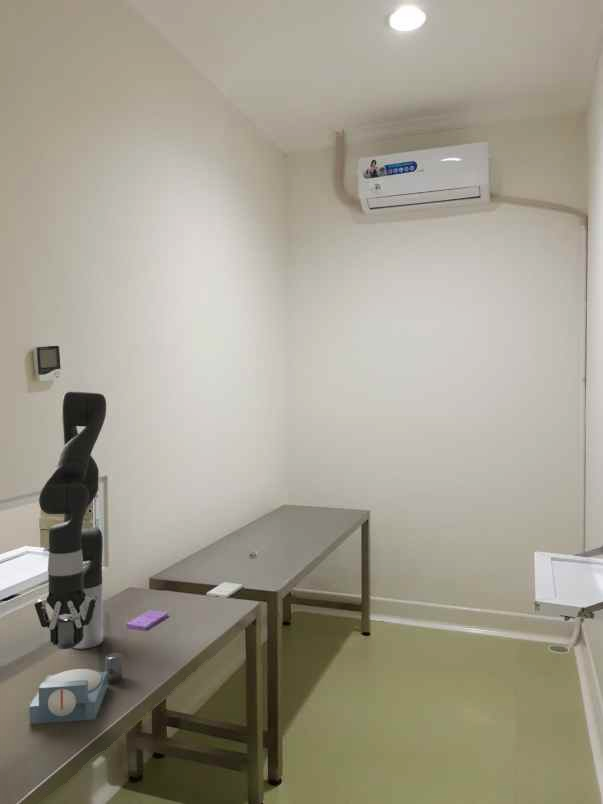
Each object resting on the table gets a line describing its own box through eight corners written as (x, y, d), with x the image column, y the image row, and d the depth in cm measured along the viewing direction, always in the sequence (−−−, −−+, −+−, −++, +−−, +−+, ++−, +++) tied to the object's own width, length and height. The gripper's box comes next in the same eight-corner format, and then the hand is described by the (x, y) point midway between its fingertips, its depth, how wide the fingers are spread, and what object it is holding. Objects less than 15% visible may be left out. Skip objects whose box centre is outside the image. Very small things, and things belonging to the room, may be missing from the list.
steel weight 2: (107, 676, 161) (106, 653, 160) (124, 675, 161) (124, 652, 161) (103, 684, 156) (103, 660, 156) (121, 683, 157) (121, 659, 157)
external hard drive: (243, 588, 231) (226, 599, 219) (223, 586, 234) (206, 596, 222) (243, 584, 230) (226, 594, 219) (223, 581, 234) (206, 592, 222)
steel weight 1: (59, 641, 146) (59, 616, 146) (79, 640, 146) (78, 615, 146) (54, 649, 141) (54, 623, 141) (74, 648, 142) (74, 622, 142)
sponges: (126, 629, 193) (126, 623, 193) (149, 614, 205) (149, 609, 205) (145, 632, 190) (145, 626, 190) (168, 617, 202) (168, 612, 202)
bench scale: (49, 689, 154) (49, 657, 154) (108, 685, 156) (107, 653, 155) (29, 725, 138) (28, 689, 137) (94, 720, 139) (94, 685, 139)
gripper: (101, 563, 148) (102, 635, 148) (38, 566, 146) (39, 638, 147) (94, 572, 141) (95, 648, 141) (28, 575, 139) (29, 651, 139)
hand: (67, 642), depth 144 cm, fingers closed on steel weight 1, 4 cm apart
